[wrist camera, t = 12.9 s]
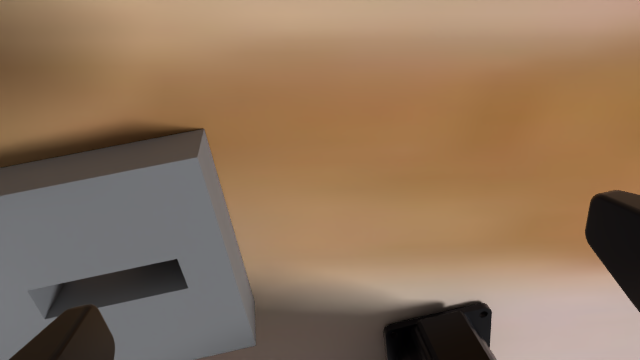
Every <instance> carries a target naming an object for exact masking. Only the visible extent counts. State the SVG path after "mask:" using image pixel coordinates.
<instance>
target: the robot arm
mask: <svg viewBox="0 0 640 360" xmlns="http://www.w3.org/2000/svg"><path fill="white" fill-rule="evenodd" d="M585 235H586V239H587V241H588V243H589V245H590V247H591V248H592V249H593V251H594V252H595V253H596V255H597V256H598V257H599V259H600V260H601V261H602V263H603V264H604V265H605V267H606V268H607V269H608V271H609V272H610V273H611V275H612V276H613V278H614V279H615V280H616V282H617V283H618V284H619V286H620V287H621V288H622V290H623V291H624V292H625V294H626V295H627V296H628V298H629V299H630V300H631V302H632V303H633V304H634V306H635V307H636V308H637V309H638V311H639V312H640V195H637V194H633V193H629V192H625V191H620V190H613V191H609V192H604V193H599V194H596V195H595V196H593V198H592V199H591V202H590V206H589V212H588V217H587V223H586V229H585ZM491 315H492V312H491V309H490V308H489V307H488V305H487V304H485V303H481V304H476V305H472V306H468V307H463V308H459V309H454V310H450V311H446V312H441V313H437V314H433V315H428V316H424V317H420V318H415V319H411V320H407V321H402V322H398V323H394V324H390V325H388V326H386V327H385V329H384V331H383V333H384V342H385V352H386V360H496V358H495V356H494V355H493V353H492V352H491V350H490V332H491ZM393 332H394V333H393ZM114 355H115V342H114V338H113V335H112V333H111V332H110V330H109V328H108V326H107V324H106V322H105V320H104V318H103V316H102V314H101V313H100V311H99V309H98V308H97V307H96V306H95V305H93V304H86V305H81V306H77V307H72V308H69V309H67V310H65V311H64V312H63V313H62V314H61V315H59V316H58V317H57V318H56V319H55V320H54V321H52V322H51V323H50V324H49V325H48V326H47V327H46V328H44V329H43V330H42V331H41V332H40V333H39V334H38V335H36V336H35V337H34V338H33V339H32V340H31V341H29V342H28V343H27V344H26V345H25V346H24V347H23V348H21V349H20V350H19V351H18V352H17V353H16V354H15V355H13V356H12V357H11V358H10V359H9V360H114Z"/></svg>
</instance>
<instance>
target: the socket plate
mask: <svg viewBox="0 0 640 360" xmlns="http://www.w3.org/2000/svg"><path fill="white" fill-rule="evenodd" d="M86 304H93V305H95V306H96V307H97V308H98V309H99V311H100V313H101V314H102V316H103V318H104V320H105V322H106V324H107V326H108V328H109V330H110V332H111V333H112V335H113V338H114V342H115V355H114V360H195V359H200V358H204V357H208V356H213V355H217V354H222V353H226V352H230V351H235V350H239V349H243V348H248V347H252V346H256V332H255V301H254V298H253V295H252V291H251V288H250V284H249V281H248V277H247V274H246V271H245V267H244V264H243V260H242V257H241V253H240V250H239V247H238V243H237V240H236V236H235V233H234V230H233V226H232V223H231V219H230V216H229V212H228V209H227V206H226V202H225V199H224V195H223V192H222V188H221V185H220V182H219V178H218V175H217V171H216V168H215V164H214V161H213V158H212V154H211V151H210V147H209V144H208V141H207V137H206V134H205V130H204V129H201V130H195V131H190V132H185V133H180V134H175V135H169V136H164V137H159V138H154V139H149V140H143V141H138V142H133V143H128V144H123V145H117V146H112V147H107V148H102V149H97V150H91V151H86V152H81V153H76V154H71V155H65V156H60V157H55V158H50V159H45V160H39V161H34V162H29V163H24V164H19V165H13V166H8V167H3V168H0V360H9V359H10V358H11V357H12V356H13V355H15V354H16V353H17V352H18V351H19V350H20V349H21V348H23V347H24V346H25V345H26V344H27V343H28V342H29V341H31V340H32V339H33V338H34V337H35V336H36V335H38V334H39V333H40V332H41V331H42V330H43V329H44V328H46V327H47V326H48V325H49V324H50V323H51V322H52V321H54V320H55V319H56V318H57V317H58V316H59V315H61V314H62V313H63V312H64V311H65V310H67V309H69V308H72V307H77V306H81V305H86Z"/></svg>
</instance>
